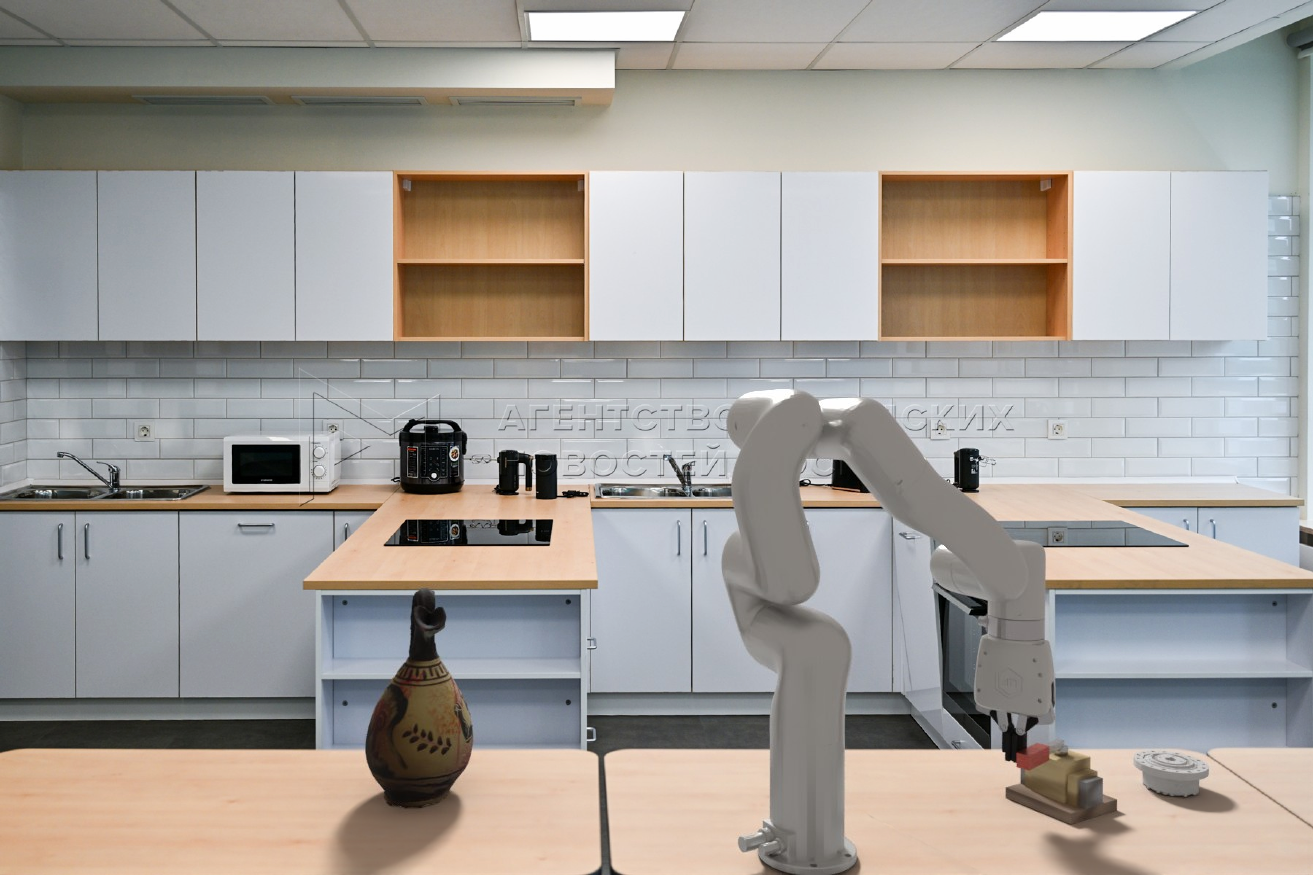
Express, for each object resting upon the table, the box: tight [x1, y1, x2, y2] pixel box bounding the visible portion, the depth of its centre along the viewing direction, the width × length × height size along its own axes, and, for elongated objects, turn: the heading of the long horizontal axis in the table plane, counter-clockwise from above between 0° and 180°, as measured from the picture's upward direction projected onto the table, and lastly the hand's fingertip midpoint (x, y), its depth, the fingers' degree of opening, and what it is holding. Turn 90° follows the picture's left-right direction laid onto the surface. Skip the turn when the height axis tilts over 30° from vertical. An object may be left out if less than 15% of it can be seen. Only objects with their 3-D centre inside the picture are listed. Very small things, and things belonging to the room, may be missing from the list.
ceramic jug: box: [364, 587, 474, 809], centre depth 143 cm, size 17×15×30 cm
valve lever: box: [1015, 737, 1069, 771], centre depth 136 cm, size 12×2×2 cm, turn 133°
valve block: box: [1005, 749, 1118, 825], centre depth 139 cm, size 10×11×7 cm
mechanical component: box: [1133, 749, 1210, 798], centre depth 145 cm, size 10×4×10 cm
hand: (1014, 759), depth 136 cm, fingers closed
